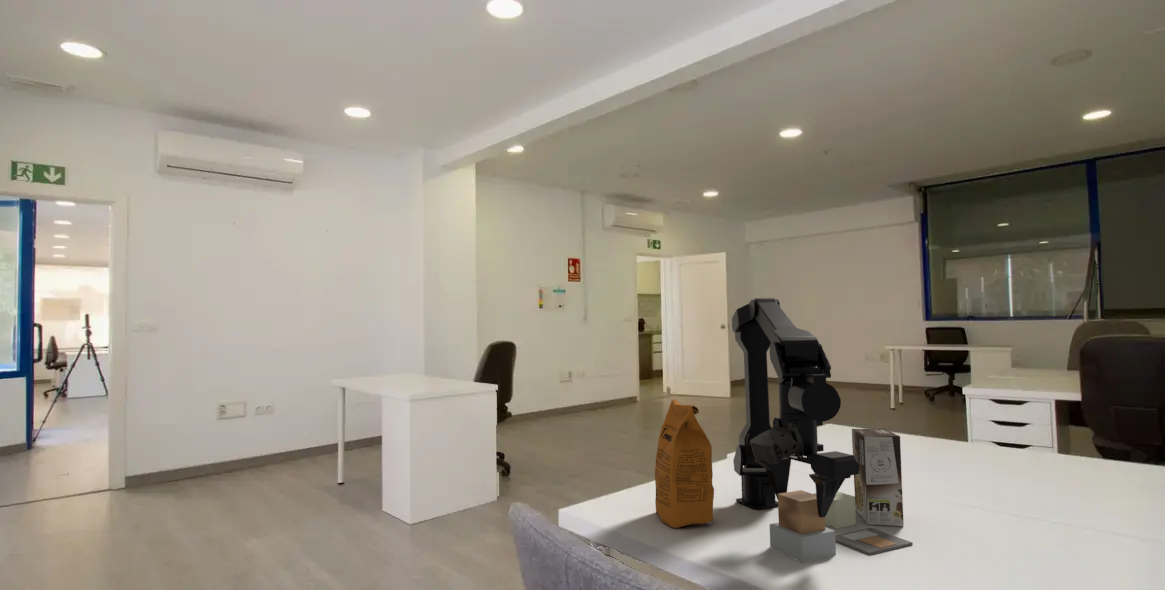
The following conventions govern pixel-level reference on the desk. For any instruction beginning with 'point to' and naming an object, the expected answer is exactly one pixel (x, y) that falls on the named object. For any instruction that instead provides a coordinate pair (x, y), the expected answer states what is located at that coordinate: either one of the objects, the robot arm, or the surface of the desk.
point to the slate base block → (803, 543)
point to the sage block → (841, 511)
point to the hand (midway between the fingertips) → (801, 509)
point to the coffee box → (878, 476)
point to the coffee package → (683, 469)
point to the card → (871, 541)
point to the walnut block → (799, 512)
